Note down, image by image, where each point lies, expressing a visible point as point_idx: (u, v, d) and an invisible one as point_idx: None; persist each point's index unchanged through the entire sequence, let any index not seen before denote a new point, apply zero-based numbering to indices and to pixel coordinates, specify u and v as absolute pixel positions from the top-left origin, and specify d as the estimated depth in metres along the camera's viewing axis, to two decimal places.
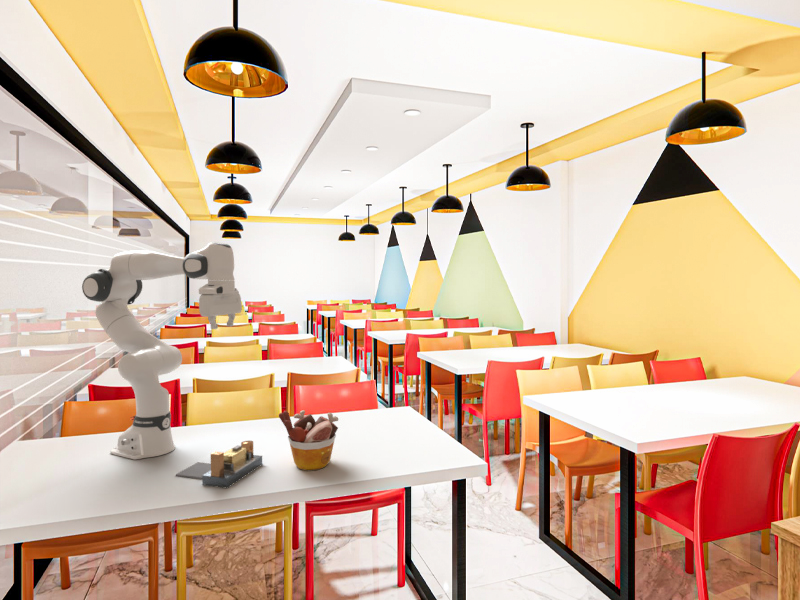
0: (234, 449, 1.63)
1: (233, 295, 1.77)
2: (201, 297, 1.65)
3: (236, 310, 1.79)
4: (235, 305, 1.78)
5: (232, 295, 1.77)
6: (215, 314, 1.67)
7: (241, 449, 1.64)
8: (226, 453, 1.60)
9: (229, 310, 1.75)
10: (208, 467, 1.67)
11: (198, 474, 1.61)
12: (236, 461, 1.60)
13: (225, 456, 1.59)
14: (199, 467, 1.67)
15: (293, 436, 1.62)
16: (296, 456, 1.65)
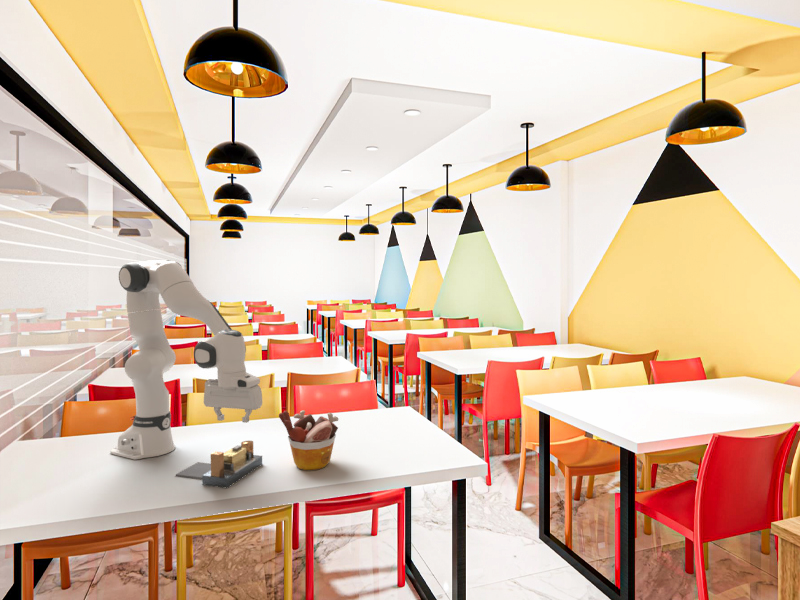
0: (234, 449, 1.63)
1: None
2: (254, 390, 1.57)
3: None
4: None
5: None
6: None
7: (241, 449, 1.64)
8: (226, 453, 1.60)
9: None
10: (208, 467, 1.67)
11: (198, 474, 1.61)
12: (236, 461, 1.60)
13: (225, 456, 1.59)
14: (199, 467, 1.67)
15: (293, 436, 1.62)
16: (296, 456, 1.65)
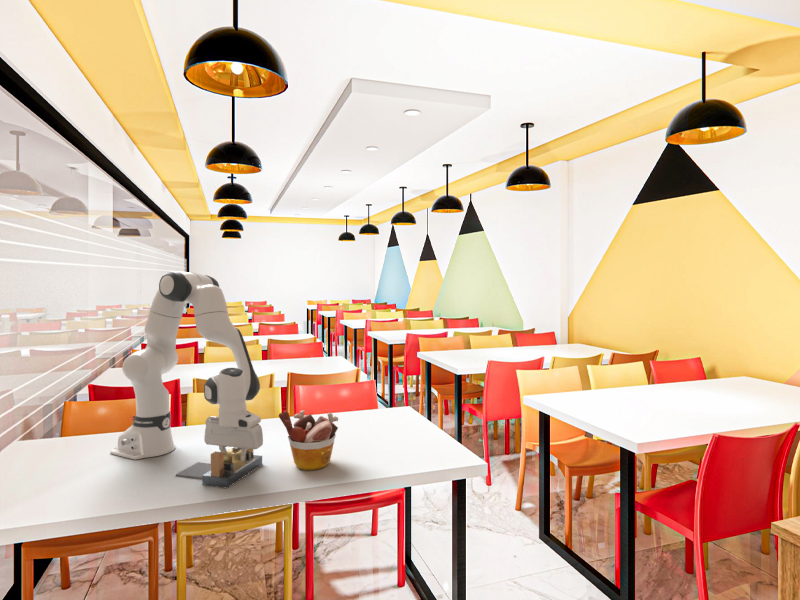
0: (234, 449, 1.63)
1: None
2: (254, 430, 1.58)
3: None
4: None
5: None
6: None
7: None
8: (226, 453, 1.60)
9: None
10: (208, 467, 1.67)
11: (198, 474, 1.61)
12: (236, 461, 1.60)
13: (225, 456, 1.59)
14: (199, 467, 1.67)
15: (293, 436, 1.62)
16: (296, 456, 1.65)
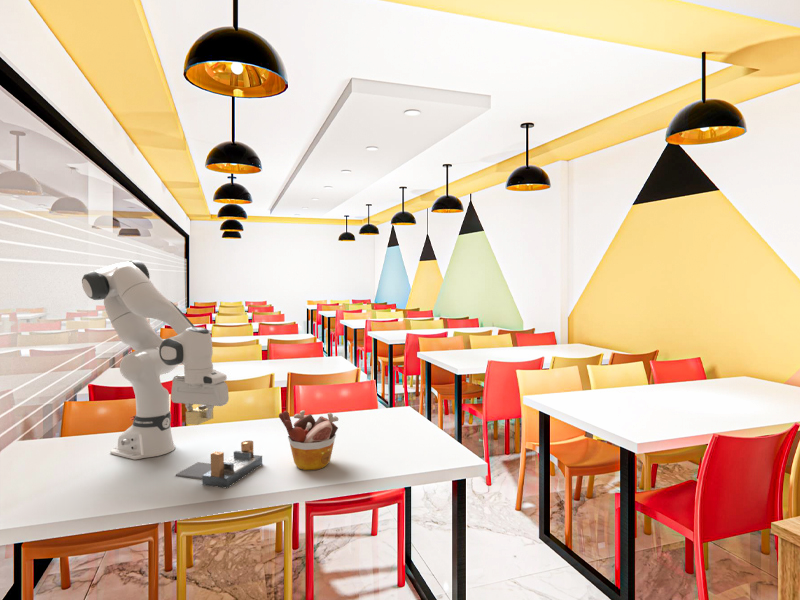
0: (200, 407, 1.64)
1: None
2: (219, 386, 1.60)
3: None
4: None
5: None
6: None
7: None
8: (192, 410, 1.62)
9: None
10: (208, 467, 1.67)
11: (198, 474, 1.61)
12: (201, 418, 1.62)
13: (190, 413, 1.60)
14: (199, 467, 1.67)
15: (293, 436, 1.62)
16: (296, 456, 1.65)
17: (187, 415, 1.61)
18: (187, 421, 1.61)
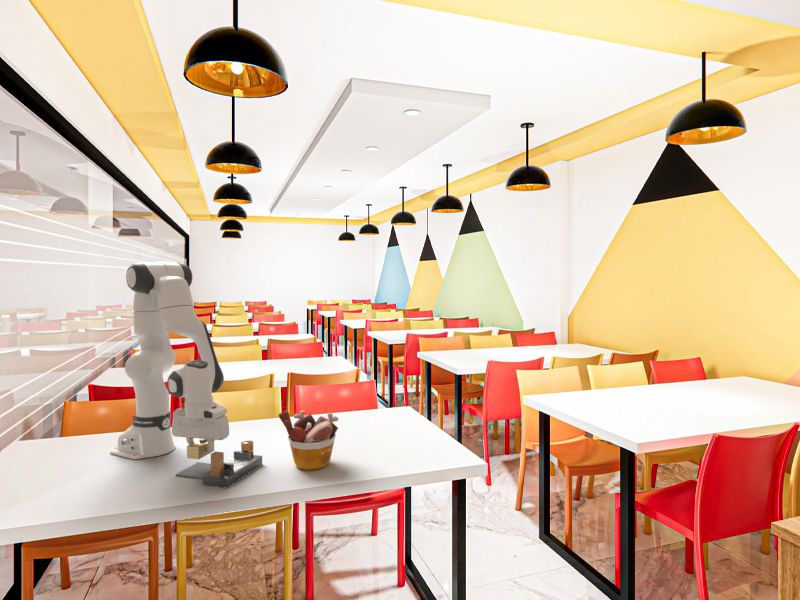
0: (201, 440, 1.65)
1: None
2: (220, 421, 1.60)
3: None
4: None
5: None
6: None
7: None
8: (193, 444, 1.62)
9: None
10: (208, 467, 1.67)
11: (198, 474, 1.61)
12: (203, 452, 1.62)
13: (191, 447, 1.60)
14: (199, 467, 1.67)
15: (293, 436, 1.62)
16: (296, 456, 1.65)
17: (188, 449, 1.61)
18: (189, 455, 1.61)
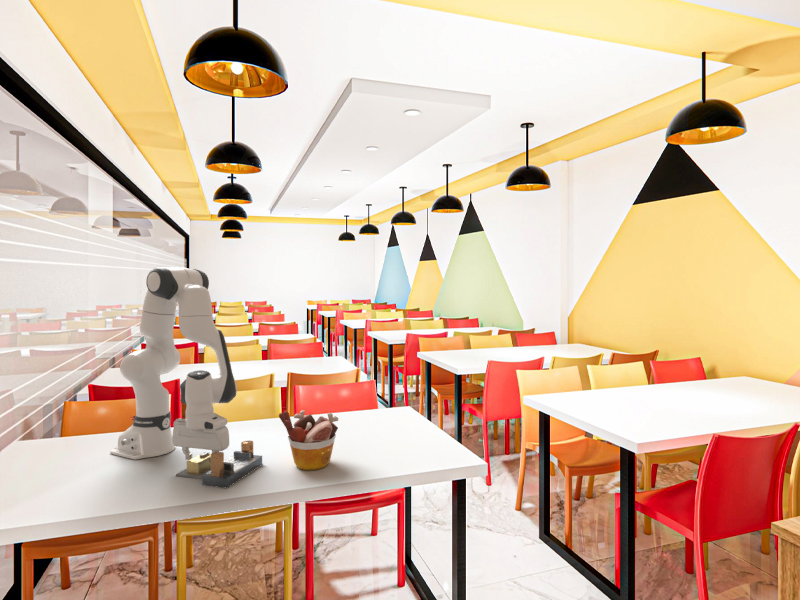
0: (201, 455, 1.65)
1: None
2: (220, 432, 1.60)
3: None
4: None
5: None
6: None
7: (208, 455, 1.67)
8: (193, 460, 1.63)
9: None
10: None
11: None
12: (202, 468, 1.62)
13: (192, 463, 1.61)
14: None
15: (293, 436, 1.62)
16: (296, 456, 1.65)
17: (188, 465, 1.61)
18: (189, 470, 1.61)
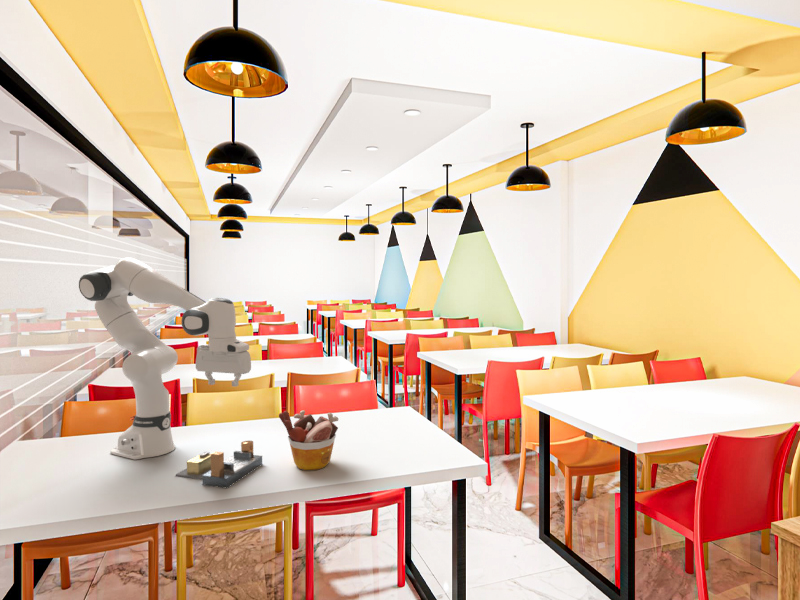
0: (201, 455, 1.65)
1: None
2: (243, 355, 1.64)
3: None
4: None
5: None
6: None
7: (208, 455, 1.67)
8: (193, 460, 1.63)
9: None
10: None
11: None
12: (202, 468, 1.62)
13: (192, 463, 1.61)
14: None
15: (293, 436, 1.62)
16: (296, 456, 1.65)
17: (188, 465, 1.61)
18: (189, 470, 1.61)
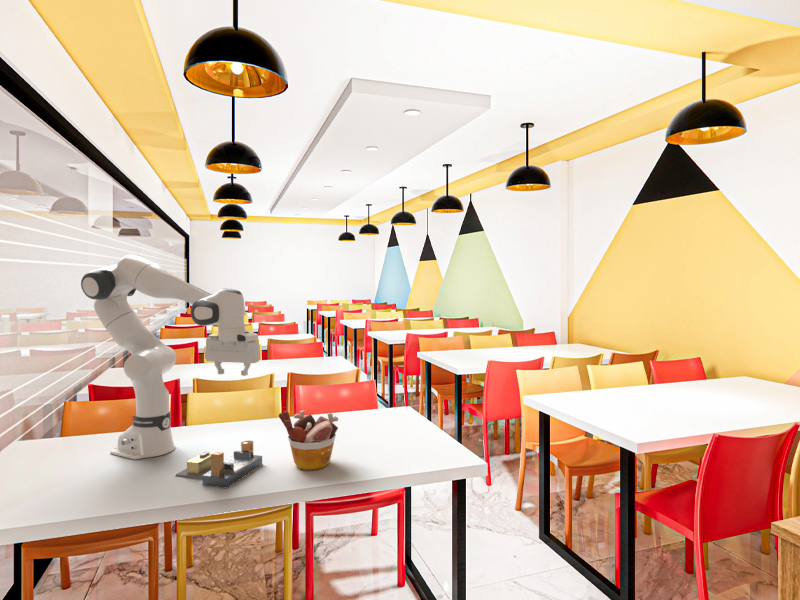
0: (201, 455, 1.65)
1: None
2: (252, 344, 1.67)
3: None
4: None
5: None
6: None
7: (208, 455, 1.67)
8: (193, 460, 1.63)
9: None
10: None
11: None
12: (202, 468, 1.62)
13: (192, 463, 1.61)
14: None
15: (293, 436, 1.62)
16: (296, 456, 1.65)
17: (188, 465, 1.61)
18: (189, 470, 1.61)
